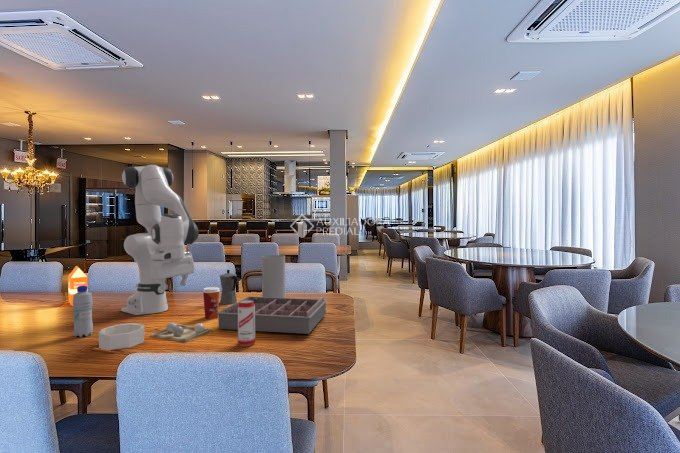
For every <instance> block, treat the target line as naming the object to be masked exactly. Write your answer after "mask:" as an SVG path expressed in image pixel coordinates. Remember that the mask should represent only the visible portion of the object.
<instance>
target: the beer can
mask: <svg viewBox="0 0 680 453" xmlns="http://www.w3.org/2000/svg"><path fill="white" fill-rule="evenodd" d="M238 302H239V305H238V330H237V344H239V346H241V347H249V346H253V345H254V344H255V342H256V331H255V304H254V303H253V300H243V299H241V300H239V301H238Z"/></svg>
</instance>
